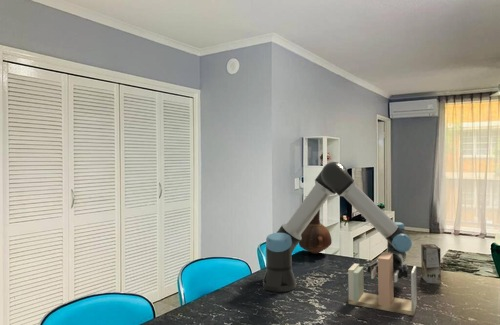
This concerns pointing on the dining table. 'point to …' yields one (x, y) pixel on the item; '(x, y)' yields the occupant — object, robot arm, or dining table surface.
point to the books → (355, 282)
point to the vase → (315, 236)
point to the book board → (396, 306)
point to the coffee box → (431, 263)
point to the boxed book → (385, 279)
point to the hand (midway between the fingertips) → (383, 276)
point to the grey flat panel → (413, 288)
